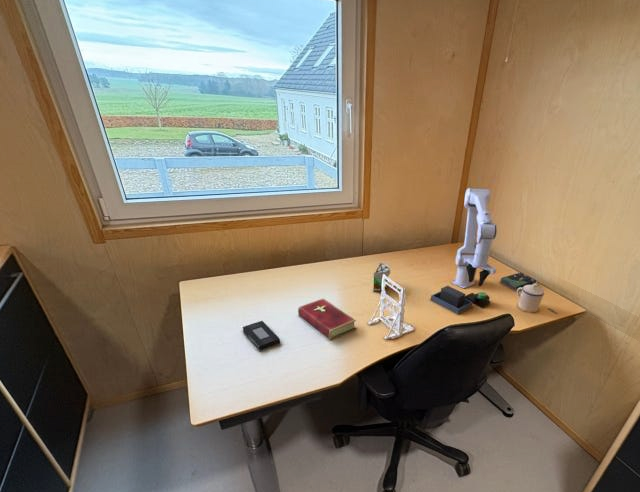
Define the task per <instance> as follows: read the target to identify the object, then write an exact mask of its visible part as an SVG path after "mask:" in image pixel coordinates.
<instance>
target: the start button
mask: <svg viewBox="0 0 640 492" xmlns="http://www.w3.org/2000/svg"><path fill="white" fill-rule="evenodd" d="M478 293H479V294H478V298H480V299H486V296H487V295H488V294H487V293H486V292H484V291H480V292H478Z"/></svg>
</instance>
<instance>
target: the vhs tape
mask: <svg viewBox="0 0 640 492" xmlns="http://www.w3.org/2000/svg"><path fill="white" fill-rule="evenodd" d="M242 331H243V333H244V334H245V335H246V337H247V338H248V339H249V340H250V341H251V343H252V344H253V345H254V346H255V347H256V348H257V350H258V351H259V352H261V351H263V350H266V349H269V348H271V347H274V346H277V345H279V344H281V339H280V338H279V336H278V335H277V334H276V332H274V331H273V330H272V329H271V328H270V327H269V326H268V325H267V324H266V323H265V322H264V321H263V320H260V321H259V320H258V321H257V322H254V323H250V324H248V325H244V326H242Z"/></svg>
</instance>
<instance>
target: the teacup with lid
mask: <svg viewBox="0 0 640 492" xmlns="http://www.w3.org/2000/svg"><path fill="white" fill-rule="evenodd" d="M520 290H521V292H520ZM520 293H521V294H520ZM516 295H517V297H518V298H519V300H518V304H517V306H518V308H519V309H520V310H522V311H524V312H527V313H536V312H538V311H539V309H540V305H541V304H542V303H541V302H542V300H543V297H544V295H545V290H544V289H543V288H542V287H540V286H538V283H536V284H535V283H534V284H533V285H525V286H524V287H523V288H522V287H520V288H518V289H517V290H516Z"/></svg>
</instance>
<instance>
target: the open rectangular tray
mask: <svg viewBox="0 0 640 492" xmlns="http://www.w3.org/2000/svg"><path fill="white" fill-rule="evenodd" d="M440 294H441V290H440V291H438V292H436V293H434V294H432V295H430V302H433V303H435V304H437V305H439V306H441V307H442V308H444V309H446V310H448V311H450V312H452V313H454V314H456V315H460V314H461V313H463V312H465V311H466V312H467V310H469V309H471V308H473V306H474V304H473V302H471V301H469V300H467V299H465V298H464V303H463V306H462V307H460V308H456V307H454V306H452V305H450V304H448V303H446V302H445V301H443V300H441V299H440Z"/></svg>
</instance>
